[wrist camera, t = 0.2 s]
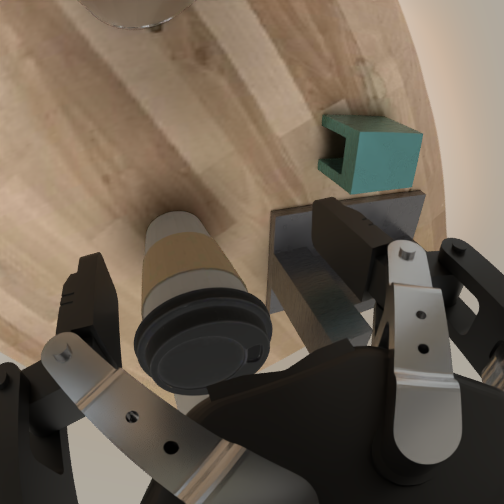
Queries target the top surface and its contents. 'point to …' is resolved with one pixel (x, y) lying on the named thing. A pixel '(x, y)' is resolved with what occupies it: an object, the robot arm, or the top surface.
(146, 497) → the robot arm
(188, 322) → the coffee cup
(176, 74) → the top surface
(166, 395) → the top surface
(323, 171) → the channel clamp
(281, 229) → the stand
